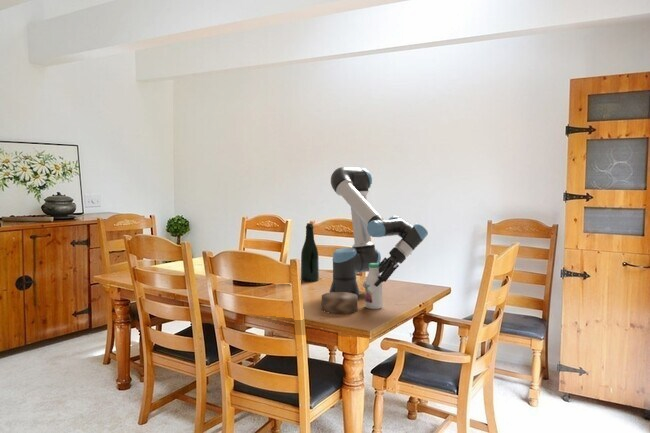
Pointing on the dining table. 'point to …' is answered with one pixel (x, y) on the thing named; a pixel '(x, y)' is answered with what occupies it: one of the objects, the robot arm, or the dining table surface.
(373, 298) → the milk bottle
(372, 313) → the dining table surface
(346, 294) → the walnut stand
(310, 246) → the dark green wine bottle
